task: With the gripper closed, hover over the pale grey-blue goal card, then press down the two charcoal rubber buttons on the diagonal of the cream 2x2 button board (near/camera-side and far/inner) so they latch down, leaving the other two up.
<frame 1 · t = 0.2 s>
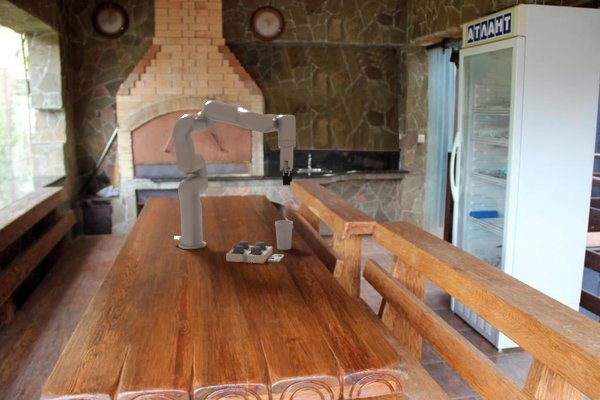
hand: (287, 183, 247), 30 cm above the table, fingers open, 9 cm apart
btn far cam: (255, 251, 239), point 4 cm above the table, slide at 0.0 cm
goal card: (275, 258, 242), on the table
cup: (284, 248, 259), on the table
board: (249, 257, 244), on the table
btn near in: (243, 246, 247), point 4 cm above the table, slide at 0.0 cm
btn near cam: (238, 250, 240), point 4 cm above the table, slide at 0.0 cm
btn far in: (260, 246, 246), point 4 cm above the table, slide at 0.0 cm
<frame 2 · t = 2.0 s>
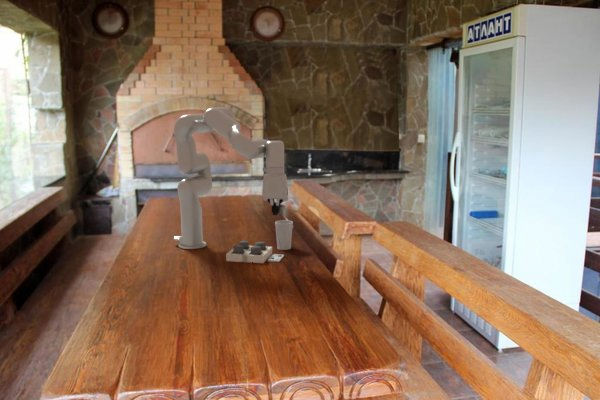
hand: (275, 214, 238), 19 cm above the table, fingers closed
nothing on the table moved.
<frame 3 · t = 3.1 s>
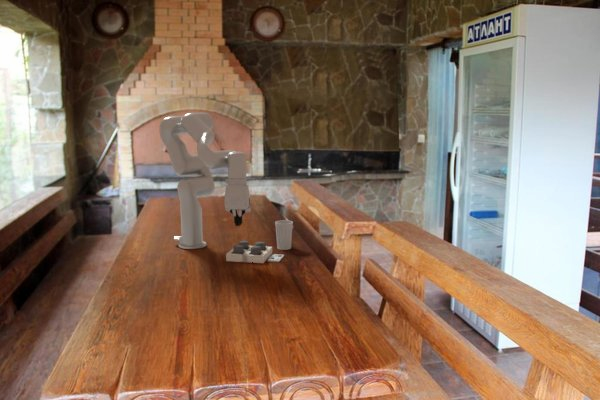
hand: (238, 225, 238), 15 cm above the table, fingers closed
nothing on the table moved.
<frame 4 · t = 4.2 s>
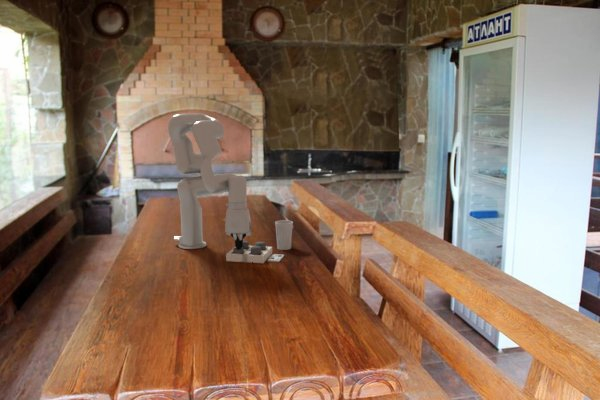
hand: (239, 248, 240), 5 cm above the table, fingers closed
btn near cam: (238, 252, 241), point 3 cm above the table, slide at 1.0 cm, touching gripper
everything else where it was.
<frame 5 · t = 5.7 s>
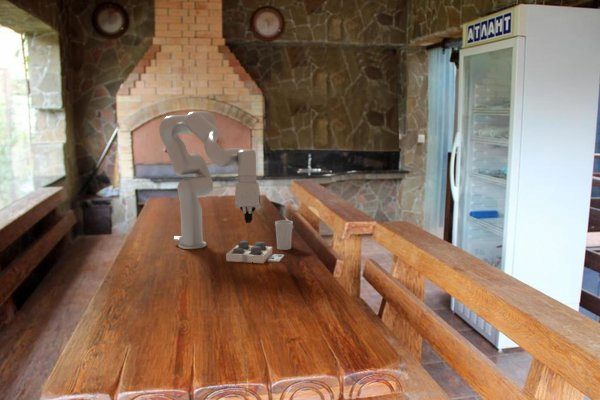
hand: (248, 222, 240), 15 cm above the table, fingers closed
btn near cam: (238, 253, 241), point 2 cm above the table, slide at 1.4 cm
everything else where it was.
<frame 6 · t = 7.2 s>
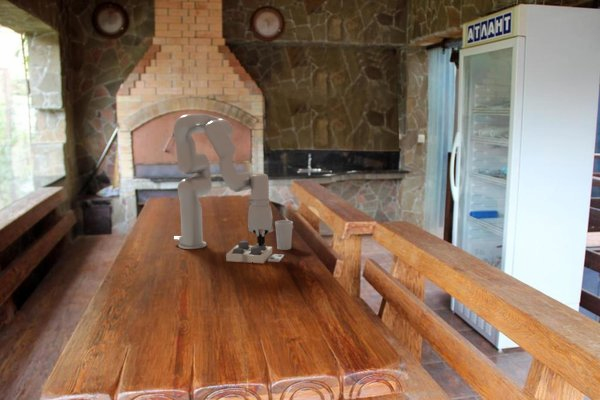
hand: (261, 244, 245), 5 cm above the table, fingers closed
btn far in: (260, 248, 246), point 3 cm above the table, slide at 0.8 cm, touching gripper
everything else where it was.
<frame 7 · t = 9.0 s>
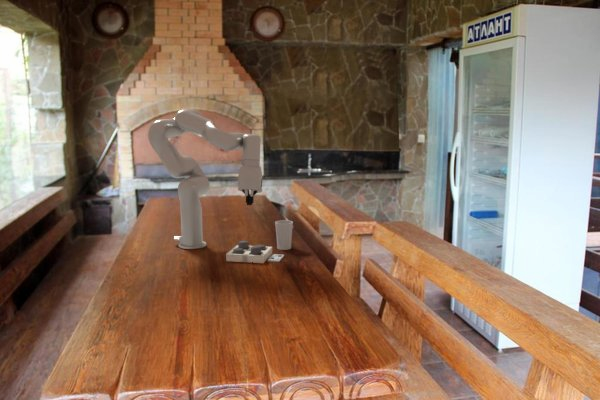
hand: (249, 204, 249), 21 cm above the table, fingers closed
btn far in: (260, 250, 246), point 2 cm above the table, slide at 1.4 cm
everything else where it was.
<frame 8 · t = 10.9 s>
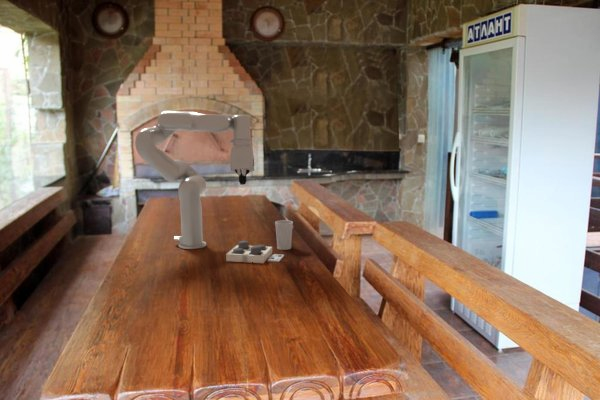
hand: (242, 184, 254), 29 cm above the table, fingers closed
nothing on the table moved.
at the end: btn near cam slide at 1.4 cm; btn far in slide at 1.4 cm; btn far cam slide at 0.0 cm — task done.
